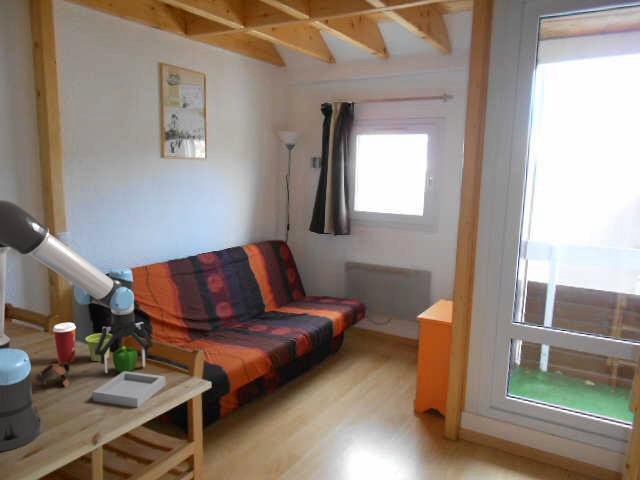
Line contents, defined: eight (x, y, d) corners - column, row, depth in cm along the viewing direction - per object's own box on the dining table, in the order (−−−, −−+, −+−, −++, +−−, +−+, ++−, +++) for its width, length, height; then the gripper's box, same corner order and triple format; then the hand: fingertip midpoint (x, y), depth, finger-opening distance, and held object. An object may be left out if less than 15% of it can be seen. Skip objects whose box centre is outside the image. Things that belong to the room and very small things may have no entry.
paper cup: (82, 359, 182) (79, 324, 180) (62, 366, 175) (59, 330, 173) (70, 354, 186) (68, 320, 184) (50, 361, 180) (48, 326, 177)
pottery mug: (63, 393, 156) (47, 375, 153) (42, 402, 158) (26, 384, 156) (82, 369, 167) (68, 352, 164) (62, 378, 169) (47, 361, 167)
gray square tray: (137, 407, 147) (137, 398, 147) (93, 400, 151) (92, 391, 150) (165, 384, 162) (165, 376, 162) (124, 379, 166) (124, 371, 166)
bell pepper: (122, 365, 178) (121, 339, 176) (142, 367, 176) (141, 341, 174) (108, 374, 169) (106, 348, 168) (128, 377, 168) (127, 350, 166)
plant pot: (108, 352, 190) (107, 331, 188) (117, 359, 183) (116, 337, 182) (83, 358, 183) (82, 336, 182) (92, 365, 176) (90, 343, 175)
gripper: (156, 304, 178) (158, 359, 181) (84, 312, 167) (88, 370, 170) (159, 310, 171) (161, 366, 175) (85, 318, 160) (88, 378, 164)
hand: (125, 368), depth 173 cm, fingers open, 12 cm apart
